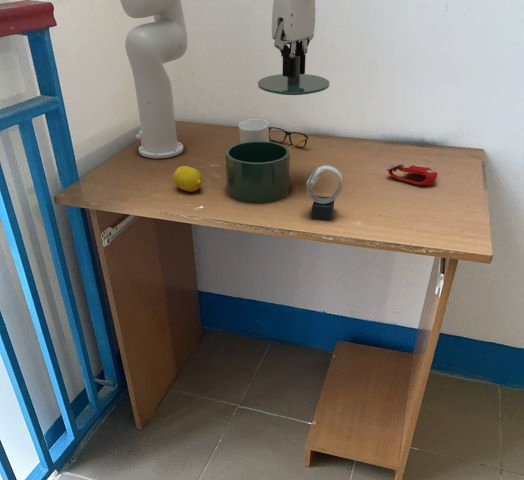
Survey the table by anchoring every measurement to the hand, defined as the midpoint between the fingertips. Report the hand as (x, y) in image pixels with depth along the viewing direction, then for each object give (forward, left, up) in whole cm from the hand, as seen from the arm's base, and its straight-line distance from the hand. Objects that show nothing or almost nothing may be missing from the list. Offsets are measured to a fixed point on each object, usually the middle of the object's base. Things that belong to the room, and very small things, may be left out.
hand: (293, 74), depth 125 cm
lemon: (-18, -18, -25) cm, 36 cm away
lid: (0, 0, -2) cm, 2 cm away
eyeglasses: (-17, +16, -25) cm, 34 cm away
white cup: (-16, +6, -25) cm, 30 cm away
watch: (+16, -10, -25) cm, 32 cm away
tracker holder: (+23, +21, -25) cm, 40 cm away
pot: (-4, -8, -25) cm, 27 cm away
